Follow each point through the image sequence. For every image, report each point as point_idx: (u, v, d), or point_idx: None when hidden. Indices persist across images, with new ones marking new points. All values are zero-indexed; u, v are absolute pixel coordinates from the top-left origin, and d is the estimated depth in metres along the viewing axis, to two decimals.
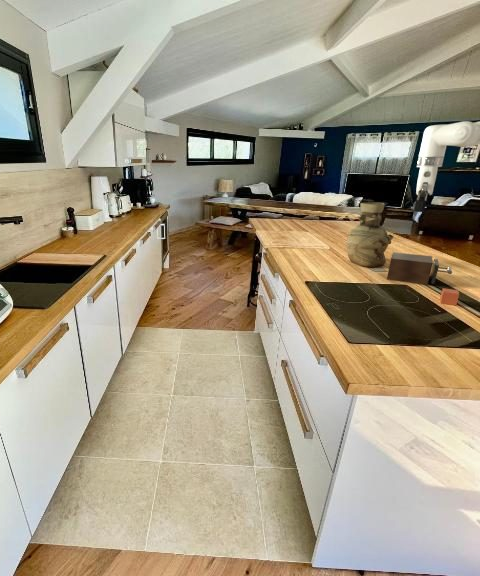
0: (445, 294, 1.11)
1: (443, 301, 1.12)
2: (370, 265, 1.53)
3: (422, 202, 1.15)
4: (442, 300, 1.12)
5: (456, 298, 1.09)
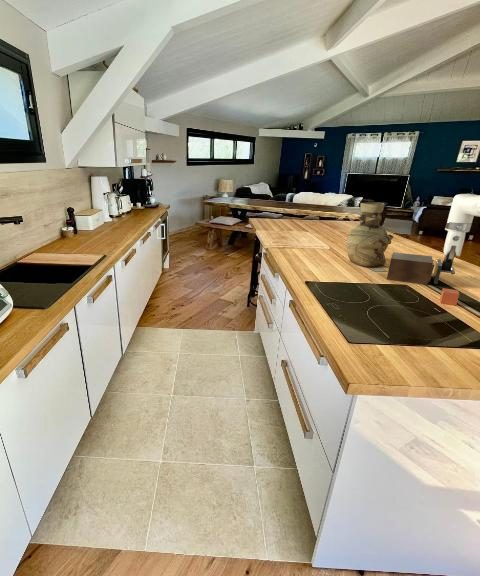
0: (445, 294, 1.11)
1: (443, 301, 1.12)
2: (370, 265, 1.53)
3: (448, 263, 1.27)
4: (442, 300, 1.12)
5: (456, 298, 1.09)
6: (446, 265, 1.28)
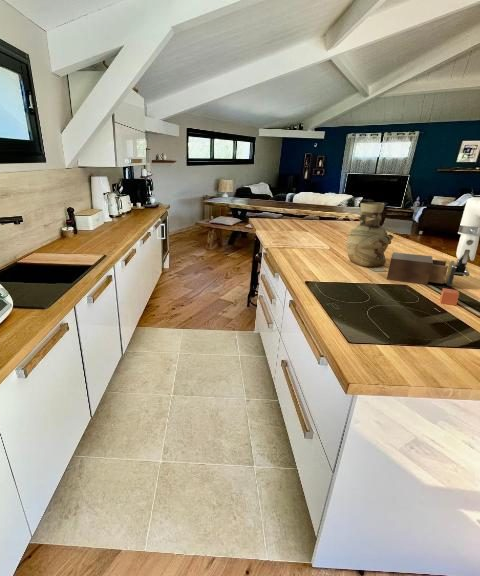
0: (445, 294, 1.11)
1: (443, 301, 1.12)
2: (370, 265, 1.53)
3: (461, 267, 1.25)
4: (442, 300, 1.12)
5: (456, 298, 1.09)
6: (459, 269, 1.26)
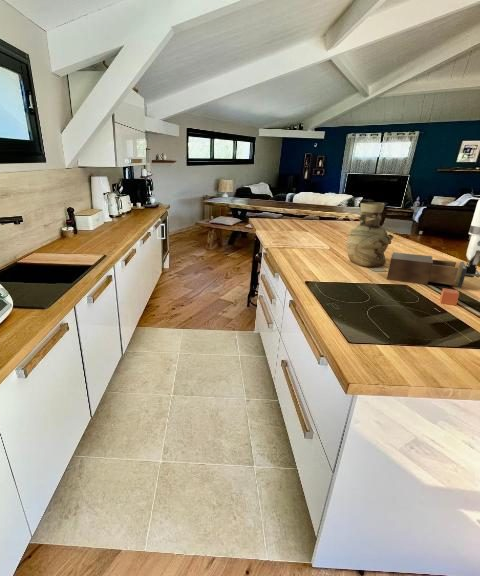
0: (445, 294, 1.11)
1: (443, 301, 1.12)
2: (370, 265, 1.53)
3: (472, 268, 1.24)
4: (442, 300, 1.12)
5: (456, 298, 1.09)
6: (470, 270, 1.24)
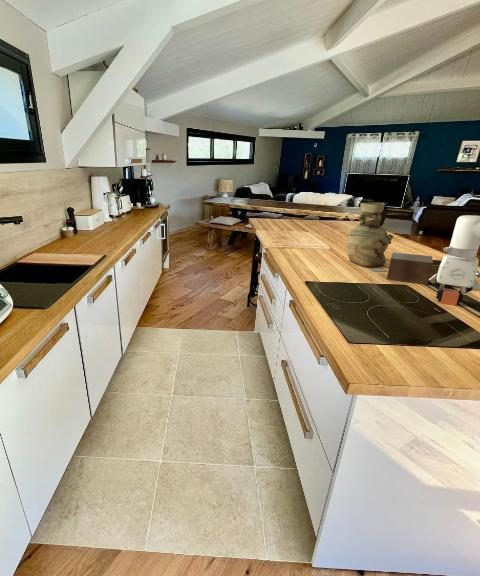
0: (445, 294, 1.11)
1: (443, 301, 1.12)
2: (370, 265, 1.53)
3: (438, 290, 1.13)
4: (442, 300, 1.12)
5: (456, 298, 1.09)
6: (437, 292, 1.14)
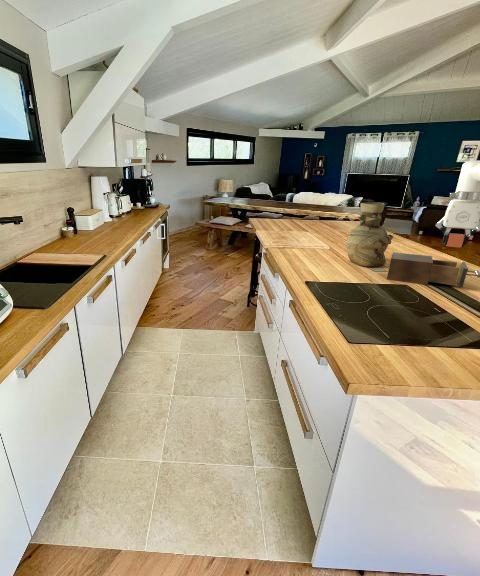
0: (451, 237, 1.19)
1: (449, 244, 1.20)
2: (370, 265, 1.53)
3: (444, 235, 1.21)
4: (448, 243, 1.20)
5: (461, 240, 1.18)
6: (443, 237, 1.22)
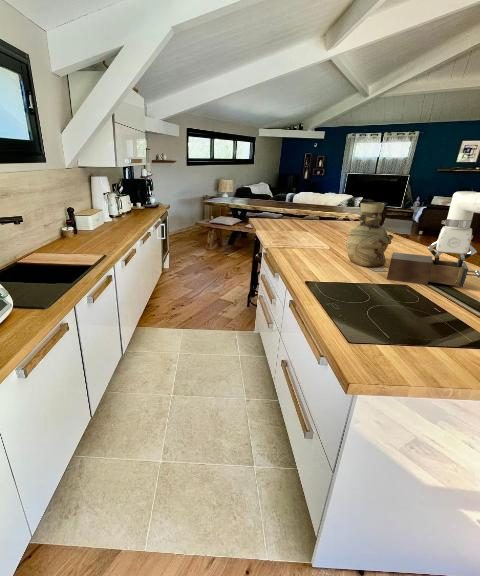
0: None
1: None
2: (370, 265, 1.53)
3: (435, 257, 1.30)
4: None
5: None
6: (434, 259, 1.31)
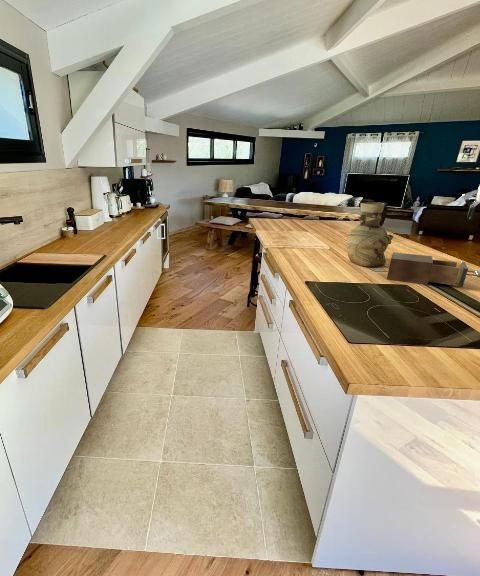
0: None
1: None
2: (370, 265, 1.53)
3: (469, 208, 1.11)
4: None
5: None
6: None
